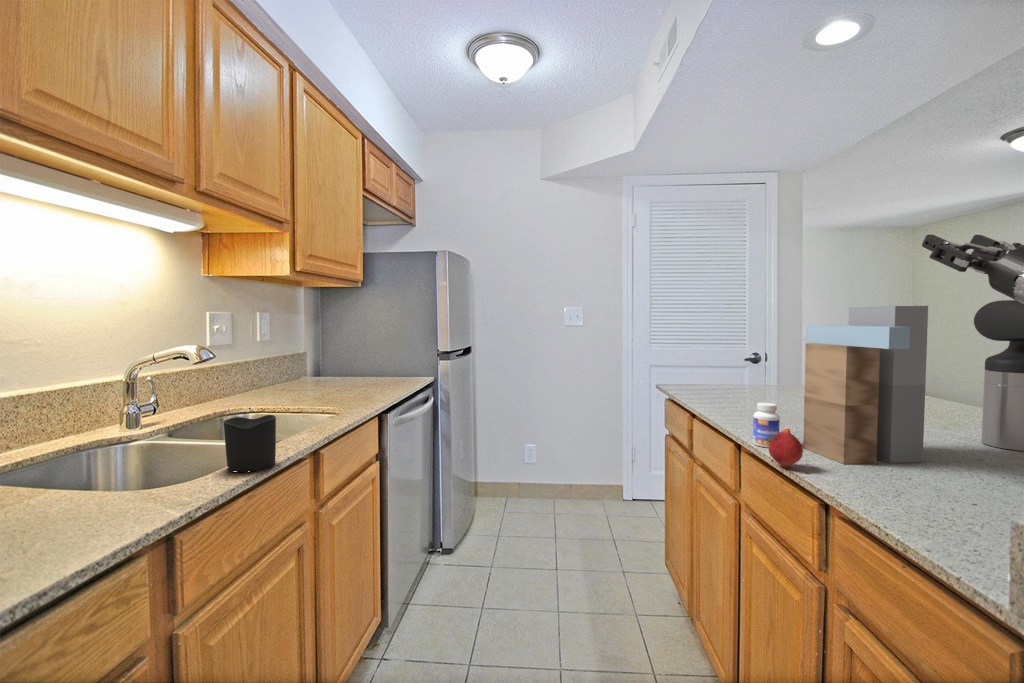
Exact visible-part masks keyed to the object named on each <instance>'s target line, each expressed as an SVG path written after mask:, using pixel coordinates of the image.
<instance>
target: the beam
mask: <svg viewBox="0 0 1024 683" xmlns="http://www.w3.org/2000/svg"><path fill="white" fill-rule="evenodd" d="M805 331H806V334H805V335H806V336H805V341H806V342H805V344H806V343H818V344H831V345H844V346H857V347H870V348H883V349H909V346H910V327H890V326H848V325H835V324H833V325H830V324H815V325H813V324H807V325H806V330H805Z"/></svg>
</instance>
